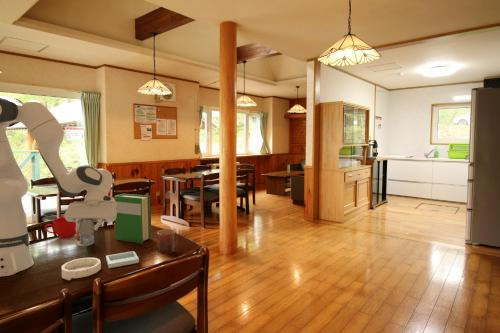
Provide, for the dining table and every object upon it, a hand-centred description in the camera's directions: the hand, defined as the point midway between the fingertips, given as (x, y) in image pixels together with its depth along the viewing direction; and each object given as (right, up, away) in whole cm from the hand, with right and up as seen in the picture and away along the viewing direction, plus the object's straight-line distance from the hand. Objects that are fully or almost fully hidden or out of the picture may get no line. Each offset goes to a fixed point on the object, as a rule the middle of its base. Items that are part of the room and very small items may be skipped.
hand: (86, 229), depth 129 cm
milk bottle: (-18, -15, +35) cm, 42 cm away
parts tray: (+11, -17, +10) cm, 22 cm away
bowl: (-2, -18, 0) cm, 18 cm away
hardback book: (+4, -14, +43) cm, 45 cm away
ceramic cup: (-36, -14, +45) cm, 59 cm away
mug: (+26, -16, +24) cm, 39 cm away
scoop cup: (0, -6, +1) cm, 6 cm away
